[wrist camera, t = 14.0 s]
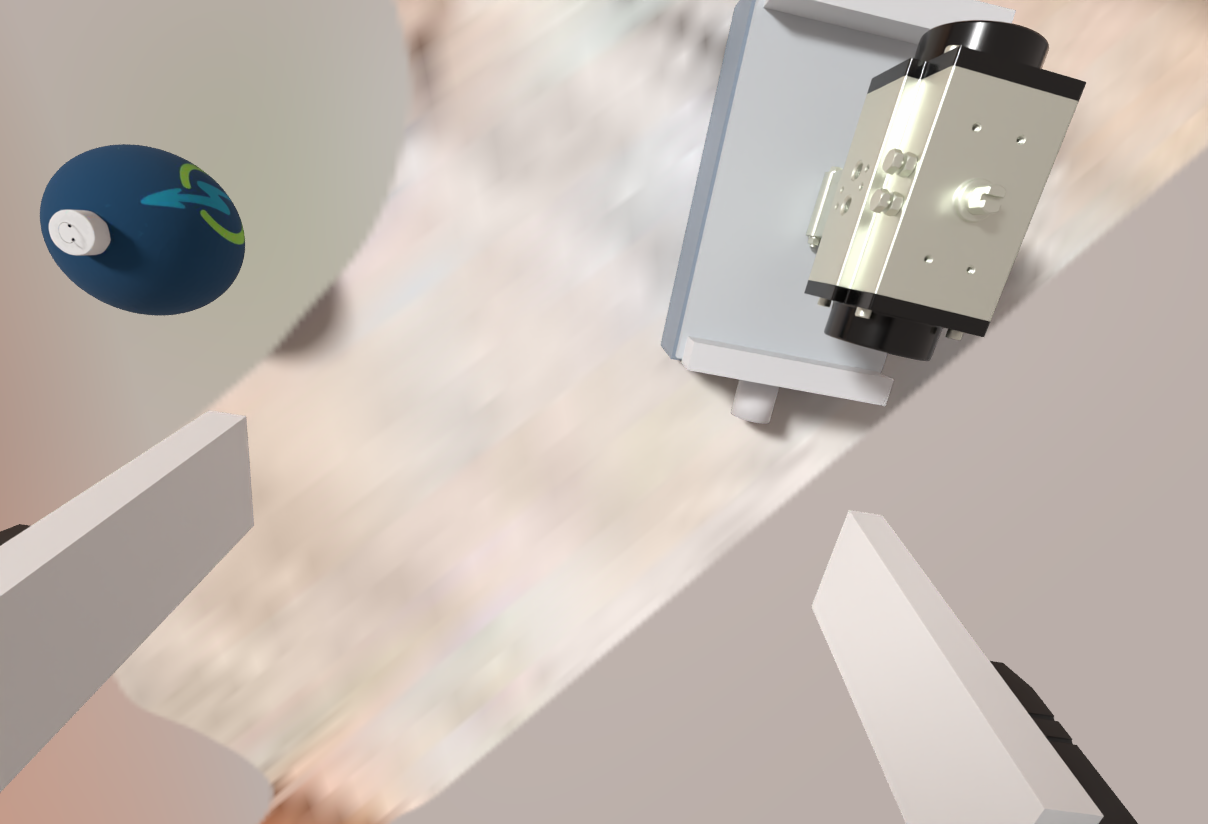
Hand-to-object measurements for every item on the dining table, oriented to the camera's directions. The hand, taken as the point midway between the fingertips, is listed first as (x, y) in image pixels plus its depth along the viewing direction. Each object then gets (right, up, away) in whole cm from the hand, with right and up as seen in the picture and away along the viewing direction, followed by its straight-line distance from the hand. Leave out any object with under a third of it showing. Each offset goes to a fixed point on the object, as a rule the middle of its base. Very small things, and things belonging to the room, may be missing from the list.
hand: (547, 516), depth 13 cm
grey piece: (+12, +13, +23) cm, 29 cm away
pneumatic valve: (+13, +13, +18) cm, 26 cm away
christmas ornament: (-22, +13, +22) cm, 34 cm away
